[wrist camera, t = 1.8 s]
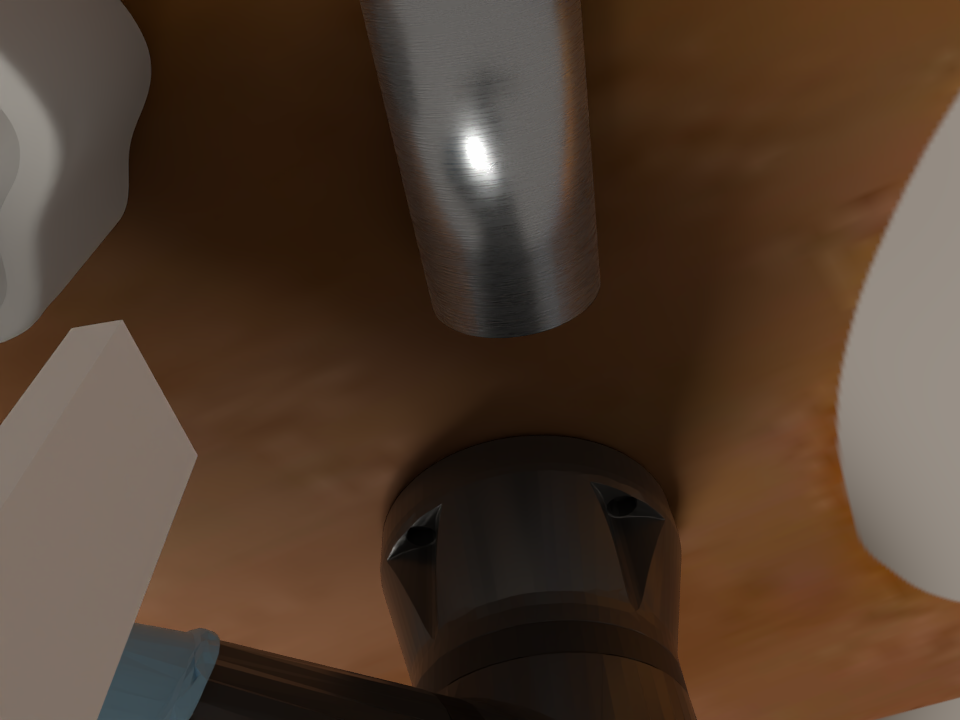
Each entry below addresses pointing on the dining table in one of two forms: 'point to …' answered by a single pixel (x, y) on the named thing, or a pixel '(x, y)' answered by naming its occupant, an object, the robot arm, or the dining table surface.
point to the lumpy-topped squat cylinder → (62, 142)
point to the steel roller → (493, 156)
